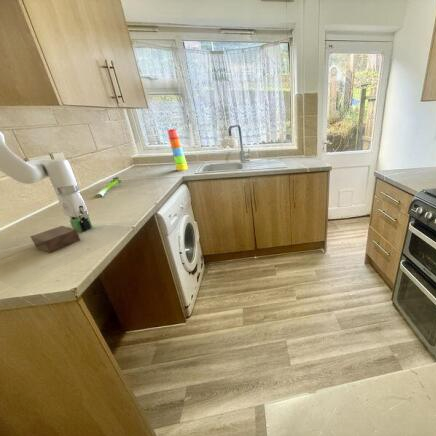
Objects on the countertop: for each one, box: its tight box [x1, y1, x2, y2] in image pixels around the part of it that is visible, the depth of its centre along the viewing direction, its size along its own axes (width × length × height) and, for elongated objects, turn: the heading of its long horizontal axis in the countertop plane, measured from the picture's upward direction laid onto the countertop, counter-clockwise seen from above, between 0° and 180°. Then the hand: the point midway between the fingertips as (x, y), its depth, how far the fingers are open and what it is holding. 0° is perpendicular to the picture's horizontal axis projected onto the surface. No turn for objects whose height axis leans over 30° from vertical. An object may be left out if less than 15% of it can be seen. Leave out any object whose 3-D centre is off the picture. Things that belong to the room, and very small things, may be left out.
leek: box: [95, 176, 122, 198], centre depth 164 cm, size 6×7×30 cm
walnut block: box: [29, 225, 81, 254], centre depth 95 cm, size 10×10×5 cm
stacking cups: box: [167, 128, 188, 171], centre depth 209 cm, size 10×10×35 cm
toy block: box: [69, 216, 93, 233], centre depth 108 cm, size 5×5×5 cm
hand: (83, 228), depth 108 cm, fingers closed on toy block, 5 cm apart
